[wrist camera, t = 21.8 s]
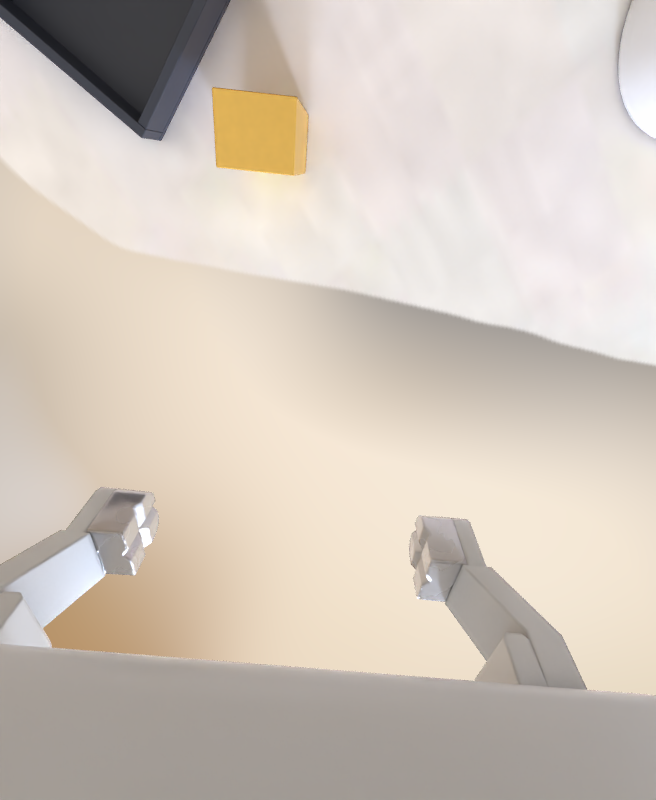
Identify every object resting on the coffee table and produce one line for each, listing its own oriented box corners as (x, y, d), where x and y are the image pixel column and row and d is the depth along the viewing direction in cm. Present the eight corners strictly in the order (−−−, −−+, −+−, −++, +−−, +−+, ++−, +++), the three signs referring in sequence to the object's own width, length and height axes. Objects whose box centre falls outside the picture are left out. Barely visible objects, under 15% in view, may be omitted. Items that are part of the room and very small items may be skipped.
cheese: (308, 114, 30) (297, 96, 22) (305, 173, 32) (294, 175, 24) (245, 107, 30) (211, 86, 22) (246, 167, 32) (216, 167, 24)
